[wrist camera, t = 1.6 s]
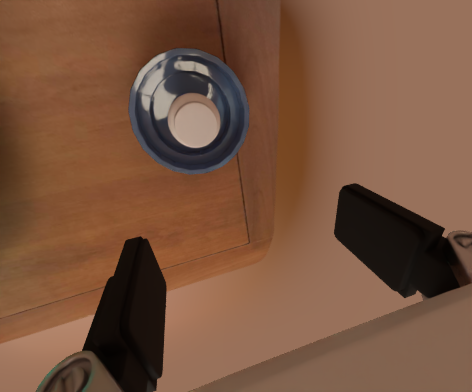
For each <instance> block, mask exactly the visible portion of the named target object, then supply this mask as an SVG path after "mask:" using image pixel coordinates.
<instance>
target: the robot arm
mask: <svg viewBox="0 0 472 392" xmlns="http://www.w3.org/2000/svg"><path fill="white" fill-rule="evenodd" d="M444 230H445V228H443V227H441V226H439V225H437V224H435V223H433V222H431V221H429V220H427V219H425V218H423V217H421V216H420V215H418V214H416V213H414V212H412V211H410V210H407V209H406V208H404V207H402V206H400V205H398V204H396V203H394V202H392V201H390V200H388V199H386V198H384V197H382V196H380V195H378V194H376V193H374V192H372V191H370V190H368V189H366V188H364V187H363V186H360V185H359V184H350V185H346V186H343V187H342V189H341V190H340V192H339V199H338V207H337V215H336V222H335V229H334V234H335V237H336V238H337V239H338V240H339V241H340V242H341V243H342V244H343V245H344V246H345V247H346V248H347V249H349V250H350V251H351V252H352V253H353V254H354V255H355V256H356V257H357V258H358V259H359V260H360V261H362V262H363V263H364V264H365V265H366V266H367V267H368V268H369V269H370V270H372V272H374V273H375V274H376V275H377V276H378V277H379V278H380V279H381V280H383V282H385V283H386V284H387V285H388V286H389V287H390V288H391V289H392V290H394V291H397V292H398V293H399V294H400V295H402V296H403V297H404V298H406V297H409V296H412V295H414V294H416V291H417V290H418V291H419V292H420V293H422V298H423V301H422V302H419V303H416V304H414V305H411V306H408V307H406V308H403V309H400V310H397V311H395V312H392V313H389V314H387V315H384V316H381V317H379V318H376V319H374V320H371V321H368V322H366V323H363V324H360V325H358V326H355V327H353V328H350V329H347V330H345V331H342V332H339V333H337V334H334V335H332V336H329V337H327V338H324V339H321V340H318V341H316V342H313V343H311V344H308V345H306V346H303V347H300V348H298V349H295V350H292V351H290V352H287V353H285V354H282V355H279V356H277V357H274V358H272V359H269V360H267V361H264V362H261V363H259V364H256V365H254V366H251V367H249V368H246V369H243V370H241V371H238V372H236V373H233V374H231V375H228V376H226V377H223V378H221V379H218V380H216V381H213V382H211V383H209V384H206V385H204V386H201V387H199V388H196V389H194V390H192V391H189V392H472V232H469V231H453V232H450V233H449V234H448V236H447V238H444V237H442V234H443V232H444ZM165 309H166V282H165V279H164V277H163V274H162V272H161V270H160V267H159V265H158V263H157V260H156V258H155V255H154V253H153V251H152V248H151V246H150V244H149V241H148V240H147V239H143V238H142V237H136V238H132V239H128V240H126V241H125V244H124V247H123V250H122V253H121V256H120V259H119V262H118V264H117V267H116V270H115V273H114V276H112V277H110V278H109V279H108V281H107V283H106V286H105V289H104V292H103V294H102V297H101V300H100V303H99V305H98V308H97V311H96V314H95V316H94V319H93V322H92V324H91V327H90V330H89V333H88V336H87V338H86V341H85V344H84V347H83V349H82V351H81V352H77V353H74V354H72V355H70V356H68V357H67V358H65V359H64V360H63V361H61V362H60V363H59V364H57V365H56V366H55V367H54V368H53V369H52V370H51V371H50V372H49V373H48V374H47V376H46V377H45V378H44V380H43V381H42V382H41V384H40V385H39V386H38V388H37V390H36V392H153V391H156V386H157V379H158V378H160V377H161V376H162V370H163V350H164V330H165Z"/></svg>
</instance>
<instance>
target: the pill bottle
mask: <svg viewBox="0 0 472 392" xmlns="http://www.w3.org/2000/svg"><path fill="white" fill-rule="evenodd" d="M168 125H169V129H170V131H171V133H172V135H173V136H174V137H175V139H176V140H177V141H179V142H180V143H181V144H183V145H185V146H188V147H192V148H199V147H204V146H206V145H208V144H209V143H211V142H212V141H213V140H214V139H215V138H216V136H217V134H218V132H219V129H220V115H219V112H218V109H217V108H216V106H215V104H214V103H213V102H212V101H211V100H210V99H209V98H207V97H206V96H204V95H201V94H198V93H184V94H181V95H179V96H178V97H177V98H176V99H175V100H174V101H173V103H172V104H171V106H170V108H169V111H168Z"/></svg>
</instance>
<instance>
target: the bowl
mask: <svg viewBox="0 0 472 392" xmlns="http://www.w3.org/2000/svg"><path fill="white" fill-rule="evenodd" d="M184 93H198V94H201V95H204V96H206V97H207V98H209V99H210V100H211V101H212V102H213V103H214V104H215V106H216V108H217V109H218V112H219V115H220V129H219V132H218V134H217V136H216V138H215V139H214V140H213V141H212V142H211V143H209V144H208V145H206V146H204V147H199V148H192V147H188V146H185V145H183V144H181V143H180V142H179V141H177V140H176V139H175V137H174V136H173V135H172V133H171V131H170V129H169V125H168V111H169V108H170V106H171V104H172V103H173V101H174V100H175V99H176V98H177V97H178V96H179V95H181V94H184ZM128 110H129V116H130V120H131V125H132V129H133V132H134V134H135V136H136V138H137V139H138V141H139V143H140V145H141V146H142V148H143V149H144V150H145V151H146V152H147V153H148V154H149V155H150V156H151V157H152V158H153V159H154V160H155V161H156V162H157V163H159V164H161V165H163V166H165V167H166V168H168V169H170V170H172V171H175V172H180V173H185V174H201V173H208V172H210V171H213V170H215V169H218V168H220V167H222V166H223V165H225V164H226V163H227V162H228V161H230V160H231V159H232V158H233V157H234V156H235V155H236V153H237V152H238V150H239V149H240V147H241V146H242V144H243V143H244V140H245V137H246V133H247V130H248V127H249V105H248V101H247V98H246V94H245V90H244V88H243V86H242V84H241V83H240V81H239V80H238V78H237V76H236V75H235V73H234V72H233V70H231V69H230V68H229V67H228V66H227V65H226V64H225V63H224V62H222V61H221V60H220V59H219V58H217V57H216V56H214V55H211V54H209V53H206V52H204V51H202V50H199V49H190V48H175V49H172V50H169V51H166V52H163V53H161V54H158V55H156V56H155V57H153V58H152V59H151V60H150V61H149V62H148V63H147V64H146V65H145V66H143V67H142V68H141V69H140V71H139V73H138V75H137V77H136V79H135V81H134V83H133V85H132V87H131V90H130V99H129V109H128Z"/></svg>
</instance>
